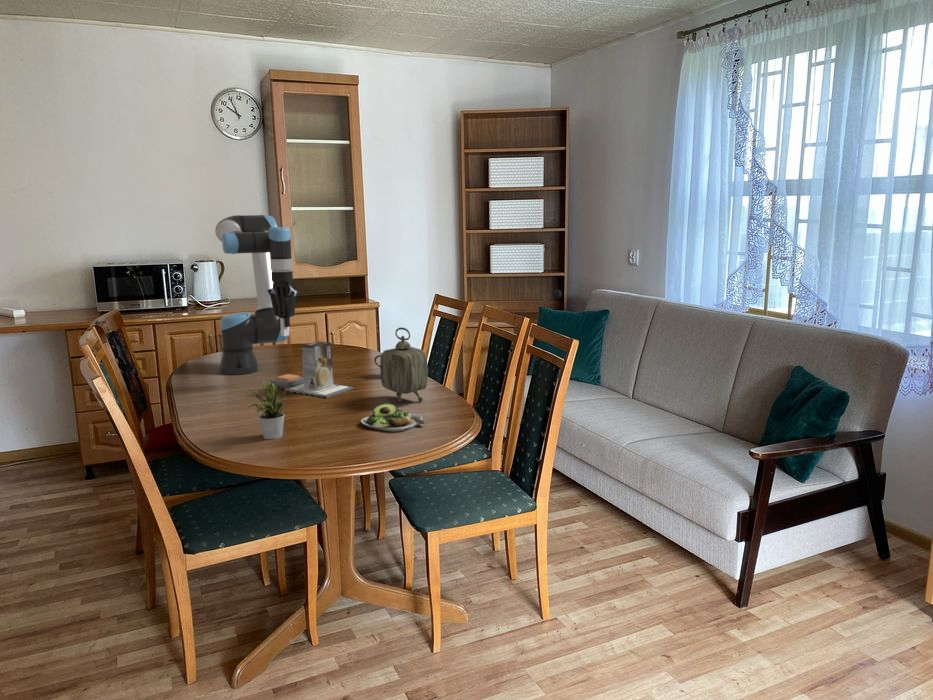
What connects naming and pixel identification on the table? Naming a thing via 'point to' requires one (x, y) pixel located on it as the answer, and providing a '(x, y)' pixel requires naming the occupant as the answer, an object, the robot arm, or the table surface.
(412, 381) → the tabletop clock
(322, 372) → the coffee box
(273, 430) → the house plant
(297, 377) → the button
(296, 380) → the button housing
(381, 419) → the salad plate
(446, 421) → the table surface
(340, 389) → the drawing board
